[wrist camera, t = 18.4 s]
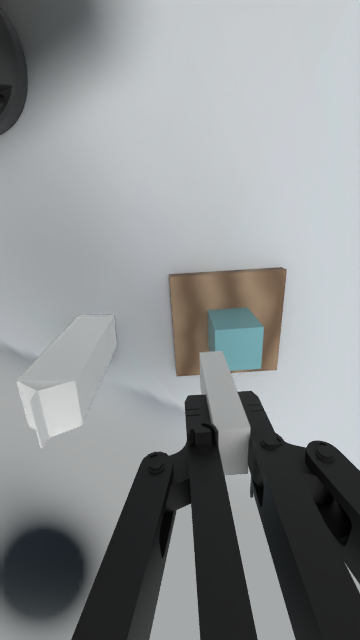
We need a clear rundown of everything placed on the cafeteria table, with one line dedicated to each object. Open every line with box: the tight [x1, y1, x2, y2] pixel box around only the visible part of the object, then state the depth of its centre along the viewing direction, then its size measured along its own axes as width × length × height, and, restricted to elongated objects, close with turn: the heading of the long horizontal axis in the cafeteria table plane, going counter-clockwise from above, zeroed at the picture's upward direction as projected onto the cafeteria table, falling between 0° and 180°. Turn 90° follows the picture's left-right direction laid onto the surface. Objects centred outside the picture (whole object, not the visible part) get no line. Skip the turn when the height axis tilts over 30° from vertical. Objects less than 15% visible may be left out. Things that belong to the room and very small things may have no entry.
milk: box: [16, 315, 117, 448], centre depth 34 cm, size 6×6×22 cm
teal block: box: [207, 307, 264, 371], centre depth 39 cm, size 6×6×8 cm
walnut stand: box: [169, 267, 287, 376], centre depth 41 cm, size 18×18×8 cm
